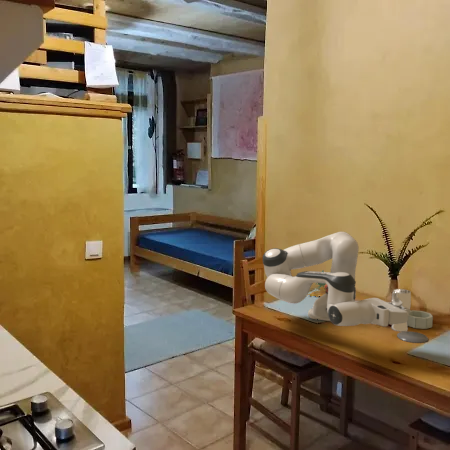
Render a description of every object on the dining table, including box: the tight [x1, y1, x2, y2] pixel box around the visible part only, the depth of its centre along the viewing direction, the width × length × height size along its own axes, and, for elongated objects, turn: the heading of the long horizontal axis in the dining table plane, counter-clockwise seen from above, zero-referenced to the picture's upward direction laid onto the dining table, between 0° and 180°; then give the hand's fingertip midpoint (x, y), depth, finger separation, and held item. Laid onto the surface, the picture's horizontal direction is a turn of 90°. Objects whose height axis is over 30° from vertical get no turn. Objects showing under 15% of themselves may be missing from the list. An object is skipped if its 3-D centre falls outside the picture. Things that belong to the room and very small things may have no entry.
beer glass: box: [390, 288, 412, 333], centre depth 191 cm, size 7×7×15 cm
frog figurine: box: [307, 269, 327, 298], centre depth 267 cm, size 10×18×15 cm, turn 96°
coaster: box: [396, 330, 429, 344], centre depth 207 cm, size 12×12×1 cm
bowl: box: [407, 309, 434, 330], centre depth 221 cm, size 11×11×5 cm
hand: (402, 307), depth 191 cm, fingers closed on beer glass, 6 cm apart
